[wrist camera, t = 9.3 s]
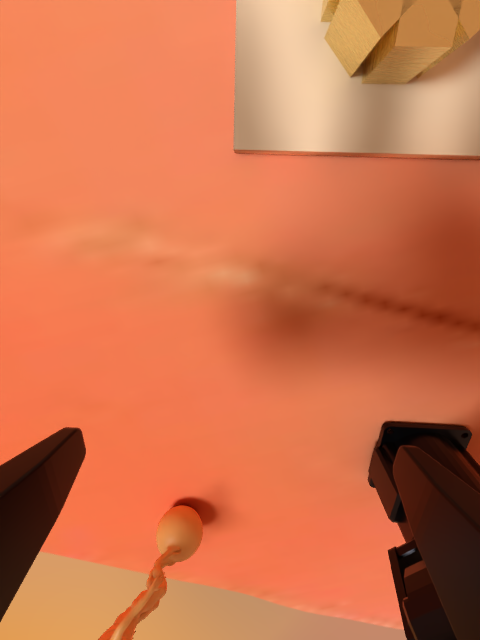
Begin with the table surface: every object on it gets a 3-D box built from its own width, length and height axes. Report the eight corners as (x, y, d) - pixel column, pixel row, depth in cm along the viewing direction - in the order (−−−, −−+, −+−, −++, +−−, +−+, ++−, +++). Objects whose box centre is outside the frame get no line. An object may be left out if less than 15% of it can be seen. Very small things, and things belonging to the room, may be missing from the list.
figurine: (190, 541, 29) (150, 754, 18) (132, 523, 28) (53, 732, 17) (220, 488, 26) (195, 703, 15) (156, 466, 25) (79, 674, 14)
